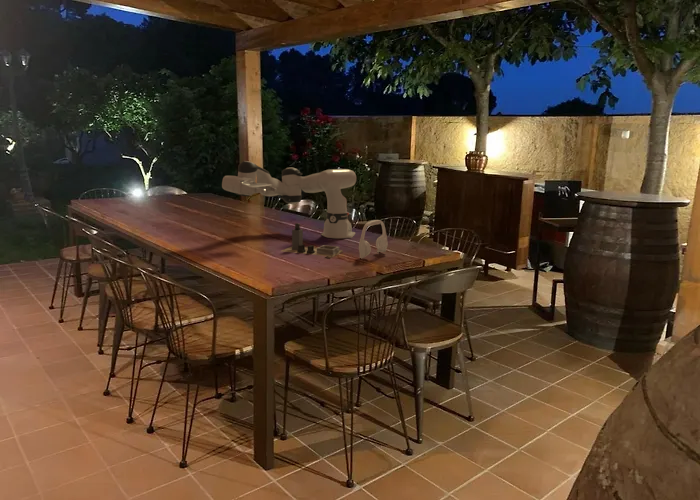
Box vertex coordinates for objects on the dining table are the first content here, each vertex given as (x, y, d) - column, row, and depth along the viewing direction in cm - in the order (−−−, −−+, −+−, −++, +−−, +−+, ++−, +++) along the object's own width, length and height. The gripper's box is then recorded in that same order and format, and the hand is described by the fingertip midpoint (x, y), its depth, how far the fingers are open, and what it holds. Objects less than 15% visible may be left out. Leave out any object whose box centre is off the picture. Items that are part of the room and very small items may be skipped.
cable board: (294, 247, 291) (294, 238, 290) (342, 252, 282) (342, 243, 281) (280, 252, 277) (280, 243, 276) (330, 258, 267) (330, 249, 266)
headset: (366, 260, 265) (368, 223, 262) (354, 258, 269) (355, 221, 266) (389, 253, 281) (391, 219, 277) (378, 251, 285) (379, 217, 281)
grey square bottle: (295, 248, 284) (295, 222, 282) (302, 248, 283) (302, 223, 280) (292, 249, 281) (292, 224, 278) (299, 250, 279) (299, 224, 277)
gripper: (259, 191, 300) (281, 195, 294) (235, 194, 282) (258, 198, 276) (260, 179, 299) (281, 183, 293) (236, 181, 281) (258, 185, 275)
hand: (270, 190), depth 284 cm, fingers open, 8 cm apart
